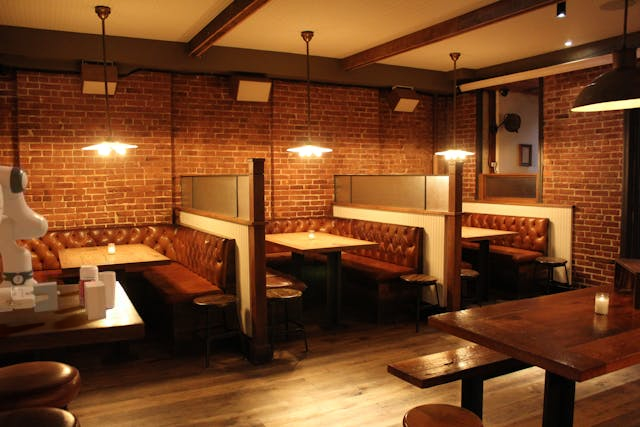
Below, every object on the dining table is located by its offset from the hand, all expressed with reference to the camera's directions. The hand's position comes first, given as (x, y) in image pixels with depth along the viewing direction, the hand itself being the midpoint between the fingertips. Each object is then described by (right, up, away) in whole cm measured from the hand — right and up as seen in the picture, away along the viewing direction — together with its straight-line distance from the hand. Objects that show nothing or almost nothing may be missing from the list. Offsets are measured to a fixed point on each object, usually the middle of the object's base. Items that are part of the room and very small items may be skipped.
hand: (48, 295), depth 213 cm
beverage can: (-6, -6, +54) cm, 54 cm away
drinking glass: (+15, -9, +21) cm, 27 cm away
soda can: (+5, -8, +25) cm, 27 cm away
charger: (-1, -6, 0) cm, 6 cm away
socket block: (+15, -10, +9) cm, 20 cm away
